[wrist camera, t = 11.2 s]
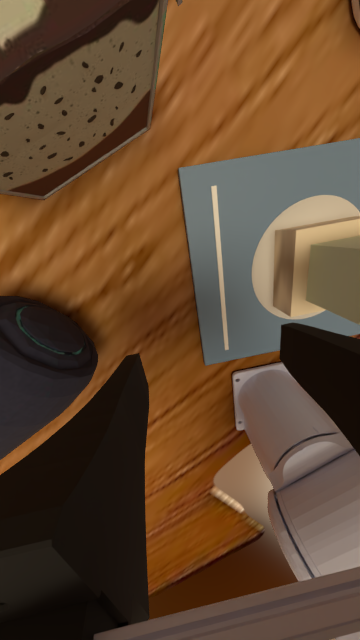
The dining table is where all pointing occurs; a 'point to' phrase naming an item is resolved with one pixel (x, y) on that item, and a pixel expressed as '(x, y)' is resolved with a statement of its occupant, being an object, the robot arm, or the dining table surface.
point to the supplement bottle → (356, 11)
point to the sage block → (336, 277)
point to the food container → (73, 86)
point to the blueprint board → (265, 242)
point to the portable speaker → (38, 367)
